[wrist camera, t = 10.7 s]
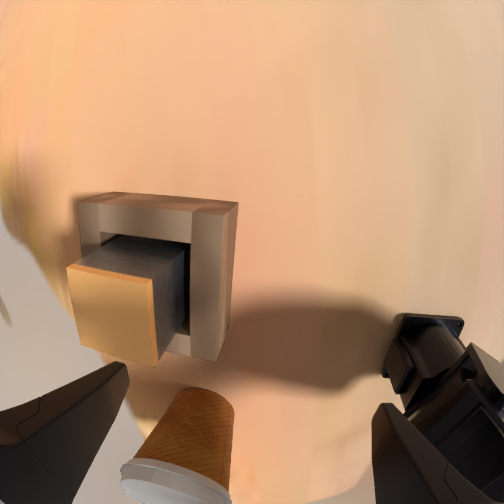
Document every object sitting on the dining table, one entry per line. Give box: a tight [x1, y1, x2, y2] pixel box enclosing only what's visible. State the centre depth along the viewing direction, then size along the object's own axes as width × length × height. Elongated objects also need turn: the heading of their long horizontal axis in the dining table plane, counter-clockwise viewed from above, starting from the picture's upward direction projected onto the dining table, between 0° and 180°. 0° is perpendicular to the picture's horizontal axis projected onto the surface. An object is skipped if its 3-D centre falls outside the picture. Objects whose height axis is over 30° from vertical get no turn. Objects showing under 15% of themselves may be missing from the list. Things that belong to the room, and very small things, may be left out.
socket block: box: [78, 192, 239, 362], centre depth 20 cm, size 10×10×4 cm
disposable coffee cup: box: [120, 388, 234, 504], centre depth 22 cm, size 10×10×12 cm
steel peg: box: [66, 235, 191, 368], centre depth 18 cm, size 5×5×9 cm
